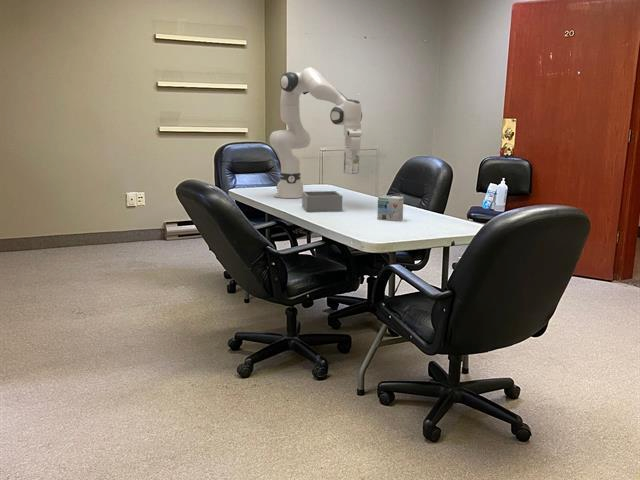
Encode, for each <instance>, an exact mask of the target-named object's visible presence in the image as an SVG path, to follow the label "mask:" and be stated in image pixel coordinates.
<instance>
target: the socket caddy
mask: <svg viewBox="0 0 640 480" xmlns="http://www.w3.org/2000/svg"><path fill="white" fill-rule="evenodd" d="M301 198H302V199H301V202H302V203H301V204H302V205H301V207H302V208H303V210H304V211H305V212H306V213H321V212H323V213H325V212H331V213H332V212H336V213H337V212H343V195H342V194H341V193H339V192H337V190H329V191H327V190H326V191H323V190H320V191H317V190H315V191H312V190H311V191H303V192H302V197H301Z"/></svg>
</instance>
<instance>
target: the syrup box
mask: <svg viewBox="0 0 640 480" xmlns="http://www.w3.org/2000/svg"><path fill="white" fill-rule="evenodd" d="M360 150H361V149H360ZM360 150H359V151H357V153H356V159H355V160H352V151H350V150H349V145H346V146H345V145H344V151H343V153H344V155H343V156H344V157H343V174H348V175H355V174H359V173H360V170H359V169H360V152H361V151H360Z"/></svg>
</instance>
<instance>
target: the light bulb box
mask: <svg viewBox="0 0 640 480" xmlns="http://www.w3.org/2000/svg"><path fill="white" fill-rule="evenodd" d="M404 201H405V199H404V196H397V195H395V196H394V195H384V194H383V195H380V196H378V197H377V215H376V217H377V220H382V221H391V222H399V221H402V220H403V219H404Z"/></svg>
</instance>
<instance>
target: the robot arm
mask: <svg viewBox="0 0 640 480" xmlns="http://www.w3.org/2000/svg"><path fill="white" fill-rule="evenodd" d="M279 81H280V83H279V84H280V88H281V93H280V100H279V101H280V102H279V103H280V104H279V109H280V110H279V111H280V113H279V114H280V115H279V116H280V120H281V121H282V122H283V123H285V124H286V126H287V129H279V130H274V131H272V132H271V134H270V135H269V140H268V141H269V144H270V146H271V147H272V148H273V149H274V150H275V151H276V152H277V154H278V157H279V161H280V174H279V177H280V180H279V181H278V182H277V183H278V184H276V189H277V190H276V193H275V194H274V198H280V199H281V198H282V199H299V198H302V192H304V182H303V181H302V180H301V177H302V176H301V175H302V174H301V170H300V169H301V168H300V166H301V161H300V158H298V157H297V156H296V155H294V154H293V150H299V149H304V148H307V147H308V146H309V145H310V143H311V139H312V138H311V135H310V133H309V132H308V131H307V130H306V129H305V128H304V126H303V124H302V121H301V114H300V110H301V109H300V97H301V95H302V94H303V95H307V94H310V96H312V97H313V98H315V99H317V100H321V101H326V102H330V103H332V104H334V105H335V106H334V107H333V108H331V110H330V114H329V115H330V116H329V117H330V121H331V122H332V124H334V125H337V126H343V136H345V137H344V147H345V146H346V145H349V150H350V151H352V160H355V159H356V153H357V151H359V150H361V139H362V138H361V137H363V132H362V123H361V121H362V120H363V112H362V105H361V102H360V101H359V100H356V99H352V98H351V99H348V98H347V97H346V96H344V94H343V93H342V92H340V91H339V90H338V89H337V88H335V87H334V86H333V85H331V84H330V82H328V80H326V78H325V77H324V76H323V75H322V74H321V73H320V72H319V71H318V70H316V69H315V68H314V67H309V66H308V67H306V68H304V69H303V70H302V71H297V72H296V71H295V72H292V71H288V72H285V73H283V74H282V75H281V77H280V79H279Z"/></svg>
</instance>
